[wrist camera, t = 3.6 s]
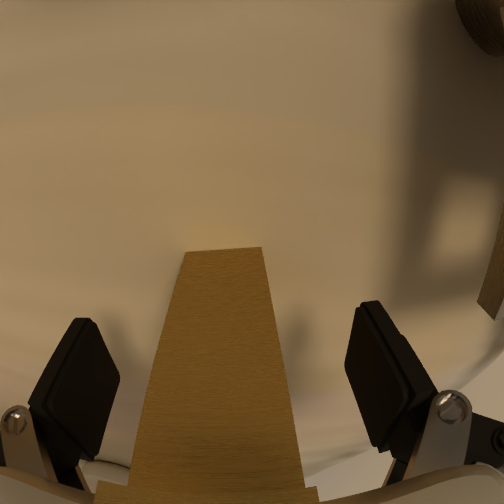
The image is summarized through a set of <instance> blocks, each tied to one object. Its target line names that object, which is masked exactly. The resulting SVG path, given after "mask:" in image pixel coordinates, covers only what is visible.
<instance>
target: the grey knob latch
mask: <svg viewBox="0 0 504 504" xmlns="http://www.w3.org/2000/svg"><path fill="white" fill-rule="evenodd" d="M456 6H457V10H458V13H459V16H460V18H461V20H462V22H463V25H464V26H465V28H466V30H467V32H468V33H469V35H470V36H471V37H472V39H473V40H474V41H475V43H476V44H477V45H478V46H479V47H480V48H481V49H482V50H484V51H485V52H486V53H488V54H489V55H492V56H495V57H501V56H504V0H456ZM477 303H478V304H479V305H480V306H481V307H482V308H483V309H484V310H485V311H486V312H487V314H488V315H489V316H490V317H491V318H492V319H493V320H494V321H495V320H498V319H501V318H504V205H503V211H502V216H501V221H500V225H499V230H498V234H497V238H496V242H495V246H494V250H493V253H492V257H491V260H490V264H489V267H488V270H487V274H486V277H485V280H484V283H483V286H482V289H481V291H480V294H479V297H478V300H477Z"/></svg>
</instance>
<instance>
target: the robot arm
mask: <svg viewBox="0 0 504 504" xmlns="http://www.w3.org/2000/svg"><path fill="white" fill-rule="evenodd" d="M344 366H345V371H346V374H347V377H348V379H349V382H350V385H351V388H352V390H353V393H354V396H355V399H356V401H357V404H358V407H359V410H360V413H361V415H362V418H363V421H364V424H365V427H366V430H367V433H368V436H369V439H370V442H371V444H372V446H373V447H377V448H378V451H379V453H382V452H385V451H388V450H390V452H391V455H392V457H393V458H394V459H393V462H392V464H391V466H390V469H389V471H388V474H387V476H386V478H385V480H384V483H383V485H382V487H381V488H378V489H374V490H371V491H367V492H363V493H360V494H355V495H351V496H347V497H342V498H338V499H333V500H329V501H323V502H319V503H320V504H504V423H503V422H500V421H497V420H494V419H491V418H487V417H484V416H482V415H478V414H476V413H473V412H472V406H471V403H470V401H469V400H468V399H467V397H466V396H465V395H463V394H462V393H460V392H458V391H455V390H445V391H442V392H440V393H438V391H437V389H436V387H435V386H434V384H433V382H432V380H431V379H430V377H429V375H428V374H427V372H426V370H425V369H424V367H423V365H422V364H421V362H420V360H419V359H418V357H417V355H416V354H415V352H414V350H413V349H412V347H411V346H410V344H409V342H408V341H407V339H406V338H405V337H404V336H403V335H402V334H400V332H399V331H398V329H397V328H396V326H395V324H394V323H393V321H392V320H391V318H390V317H389V315H388V314H387V312H386V311H385V309H384V308H383V306H382V305H381V303H380V302H379V301H378V300H375V301H368V302H362V303H361V305H360V307H357V308H356V310H355V315H354V320H353V325H352V330H351V335H350V340H349V344H348V349H347V353H346V358H345V363H344ZM119 382H120V375H119V372H118V370H117V368H116V366H115V364H114V362H113V360H112V358H111V356H110V353H109V351H108V349H107V347H106V345H105V343H104V340H103V338H102V336H101V334H100V331H99V329H98V327H97V325H96V323H95V322H93V321H92V320H91V319H90V318H75V319H74V320H73V321H72V323H71V324H70V326H69V328H68V329H67V331H66V333H65V334H64V336H63V338H62V339H61V341H60V343H59V344H58V346H57V348H56V350H55V351H54V353H53V355H52V357H51V358H50V360H49V362H48V364H47V366H46V367H45V369H44V371H43V373H42V375H41V377H40V379H39V381H38V383H37V385H36V386H35V388H34V390H33V392H32V394H31V396H30V399H29V401H28V404H29V405H30V407H29V410H28V409H27V408H26V407H24V406H21V405H16V406H13V407H11V408H9V409H8V410H7V411H6V412H5V413H4V414H3V416H2V418H1V421H0V504H94V503H93V502H94V497H95V494H94V493H91V491H90V489H89V487H88V485H87V482H86V480H85V478H84V476H83V474H82V471H81V469H80V467H79V464H78V463H79V459H83V460H87V461H91V462H93V461H94V457H95V456H96V455H98V453H99V450H100V447H101V443H102V439H103V436H104V432H105V428H106V425H107V421H108V418H109V414H110V411H111V408H112V405H113V401H114V398H115V395H116V392H117V389H118V385H119Z"/></svg>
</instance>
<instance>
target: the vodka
mask: <svg viewBox="0 0 504 504" xmlns="http://www.w3.org/2000/svg"><path fill="white" fill-rule="evenodd" d="M129 473H130V469H129V468H126V467H123V466H120V465H117V464H113V463H109V462H103V461H93V462H87V463H86V464H85V465H84V466H83V469H82V474H83V476H84V478H85V480H86V482H87V485H88V487H89V489H90V491H91V493H94V494H95V492H96V487H97V482H98V480H101V481H106V482H110V483H115V484H120V485H125V486H127V485H128V479H129Z"/></svg>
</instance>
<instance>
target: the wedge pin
mask: <svg viewBox="0 0 504 504" xmlns="http://www.w3.org/2000/svg"><path fill="white" fill-rule="evenodd" d="M93 503H94V504H320V503H319V497H318V492H317V487H316V486H314V487H308V488H305V483H304V476H303V471H302V465H301V459H300V453H299V447H298V442H297V436H296V430H295V425H294V419H293V414H292V408H291V402H290V397H289V391H288V386H287V380H286V375H285V369H284V364H283V358H282V353H281V348H280V342H279V337H278V332H277V326H276V321H275V316H274V310H273V305H272V300H271V294H270V289H269V284H268V279H267V274H266V268H265V263H264V258H263V253H262V248H261V247H256V248H241V249H226V250H212V251H198V252H186V253H185V256H184V260H183V263H182V266H181V269H180V272H179V275H178V279H177V282H176V285H175V288H174V292H173V295H172V298H171V302H170V305H169V308H168V312H167V315H166V319H165V322H164V326H163V329H162V333H161V337H160V340H159V344H158V348H157V351H156V355H155V359H154V363H153V367H152V371H151V375H150V379H149V383H148V387H147V391H146V395H145V400H144V404H143V408H142V413H141V417H140V422H139V427H138V432H137V436H136V441H135V446H134V451H133V457H132V462H131V468H130V473H129V479H128V485H127V486H125V485H120V484H115V483H110V482H106V481H101V480H98V482H97V487H96V492H95V497H94V502H93Z"/></svg>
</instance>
